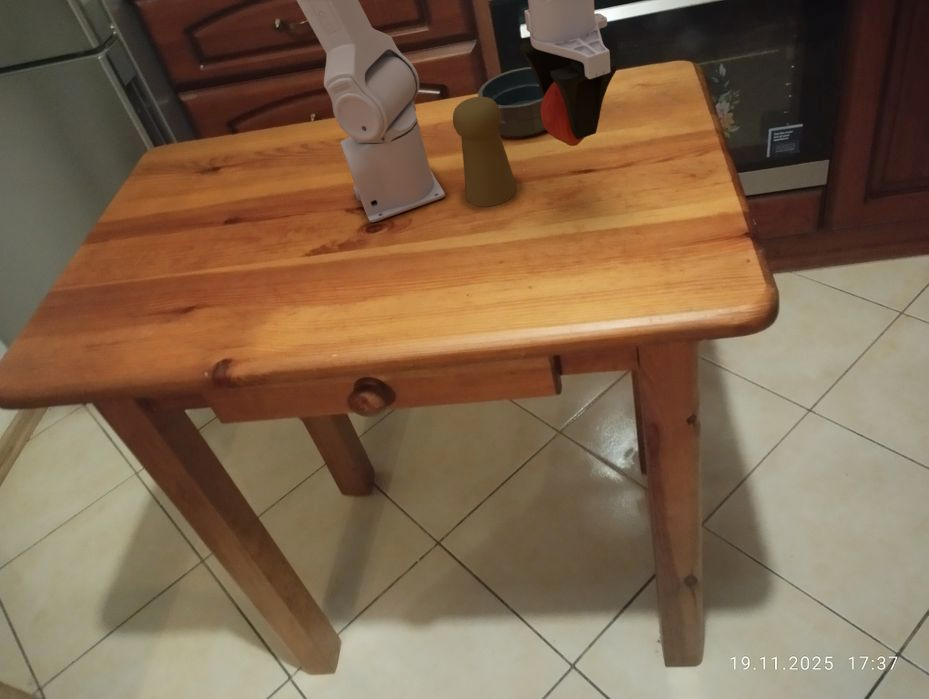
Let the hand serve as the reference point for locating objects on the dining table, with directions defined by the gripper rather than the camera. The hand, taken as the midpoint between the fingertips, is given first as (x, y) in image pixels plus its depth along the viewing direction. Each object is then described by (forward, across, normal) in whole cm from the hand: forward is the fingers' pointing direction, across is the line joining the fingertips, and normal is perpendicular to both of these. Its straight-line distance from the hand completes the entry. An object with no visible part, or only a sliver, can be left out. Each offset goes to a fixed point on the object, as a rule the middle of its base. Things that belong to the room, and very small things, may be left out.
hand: (571, 122), depth 68 cm
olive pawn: (+10, +8, +8) cm, 15 cm away
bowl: (+9, +22, -2) cm, 24 cm away
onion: (+3, 0, 0) cm, 3 cm away
